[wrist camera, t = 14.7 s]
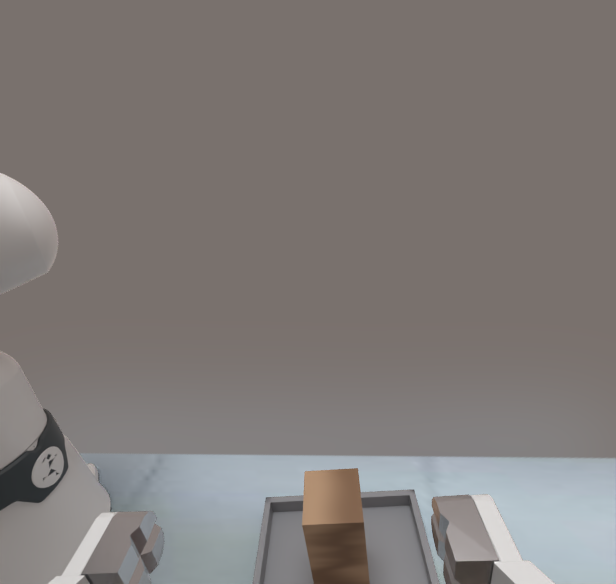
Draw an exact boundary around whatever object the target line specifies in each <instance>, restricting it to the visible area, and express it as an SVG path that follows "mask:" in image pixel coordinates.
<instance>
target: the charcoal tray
mask: <svg viewBox="0 0 616 584" xmlns="http://www.w3.org/2000/svg"><path fill="white" fill-rule="evenodd" d="M303 497H304V495H303V496H284V497H266V501H265V507H264V513H263V520H262V526H261V533H260V539H259V545H258V552H257V558H256V565H255V571H254V577H253V584H314V582H313V577H312V572H311V567H310V562H309V557H308V552H307V547H306V542H305V537H304V532H303V527H302V517H303ZM361 501H362V510H363V519H364V529H365V539H366V550H367V560H368V571H369V581H370V584H439V580H438V577H437V573H436V569H435V566H434V562H433V558H432V554H431V551H430V547H429V543H428V540H427V536H426V532H425V529H424V525H423V521H422V517H421V514H420V510H419V506H418V503H417V499H416V495H415V492H414V490H395V491H377V492H361Z"/></svg>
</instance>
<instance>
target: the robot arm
mask: <svg viewBox="0 0 616 584" xmlns="http://www.w3.org/2000/svg"><path fill="white" fill-rule="evenodd" d="M57 250H58V233H57V229H56V225H55V222H54V220H53V218H52V216H51V214H50V212H49V211H48V209H47V207H46V206H45V205H44V204H43V202H42V201H41V200H40V199H39V198H38V197H37V196H36V195H35V194H34V193H33V192H32V191H30V190H29V189H28V188H27V187H25V186H24V185H22V184H21V183H19V182H17V181H16V180H14V179H12V178H10V177H8V176H6V175H4V174H1V173H0V294H3V293H5V292H7V291H9V290H12V289H14V288H16V287H18V286H20V285H23V284H25V283H27V282H29V281H31V280H33V279H35V278H37V277H39V276H41V275H43V274H46V273H47V272H48V271H49V270H50V268H51V267H52V265H53V262H54V260H55V258H56V255H57ZM110 506H111V503H110V497H109V494H108V492H107V491H106V489H105V488H104V487H103V486H102V485H101V484H100V483H99V481H98V470H97V468H96V467H95V466H94V465H93V464H86V463H85V461H84V460H83V458H82V457H81V456H80V454H79V453H78V451H77V450H76V449H75V447H74V446H73V445H72V443H71V442H70V441H69V439H68V438H67V437H66V436H65V435H63V434H62V432H61V430H60V428H59V424H58V422H57V421H56V419H55V418H54V417H53V416H52V415H51V413H50V412H49V411H48V410H46V409H43V408H42V407H41V405H40V403H39V401H38V399H37V397H36V395H35V393H34V392H33V390H32V388H31V386H30V384H29V382H28V380H27V379H26V377H25V375H24V373H23V371H22V369H21V367H20V366H19V364H18V363H17V361H16V360H15V359H13V358H12V357H11V356H9V355H8V354H6V353H4V352H2V351H0V584H151V579H150V573H151V572H152V571H153V570H154V569H155V568H156V567H157V566H158V564H159V562H160V559H161V556H162V553H163V547H164V533H163V531H162V528H161V527H159V526H158V525H156V524H155V522H156V519H157V517H156V515H155V513H154V511H136V512H110ZM432 508H433V511H434V514H433V515H432V516H431V525H432V533H433V538H434V543H435V547H436V550H437V554H438V556H439V557H440V558H441V559H442V560H443V561H444V571H443V575H444V578H445V582H446V584H555V583H554V582H553V581H552V580H550V579H549V578H548V577H547V576H546V575H545V574H544V573H543V572H542V571H540V570H539V569H538V568H537V567H536V566H535V565H534V564H533V563H531V562H530V561H523V559H522V557H521V555H520V553H519V551H518V549H517V547H516V545H515V543H514V541H513V539H512V537H511V535H510V533H509V531H508V529H507V527H506V525H505V523H504V520H503V518H502V516H501V514H500V512H499V510H498V508H497V506H496V504H495V502H494V500H493V498H492V497H491V496H490V495H488V494H482V495H457V496H442V497H433V499H432Z"/></svg>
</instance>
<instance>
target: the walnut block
mask: <svg viewBox="0 0 616 584" xmlns="http://www.w3.org/2000/svg"><path fill="white" fill-rule="evenodd" d="M302 527H303V532H304V537H305V542H306V547H307V552H308V557H309V562H310V567H311V572H312V577H313V582H314V584H370V581H369V571H368V560H367V550H366V539H365V529H364V519H363V510H362V501H361V492H360V484H359V475H358V468H355V469H338V470H321V471H305V477H304V497H303V517H302Z"/></svg>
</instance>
